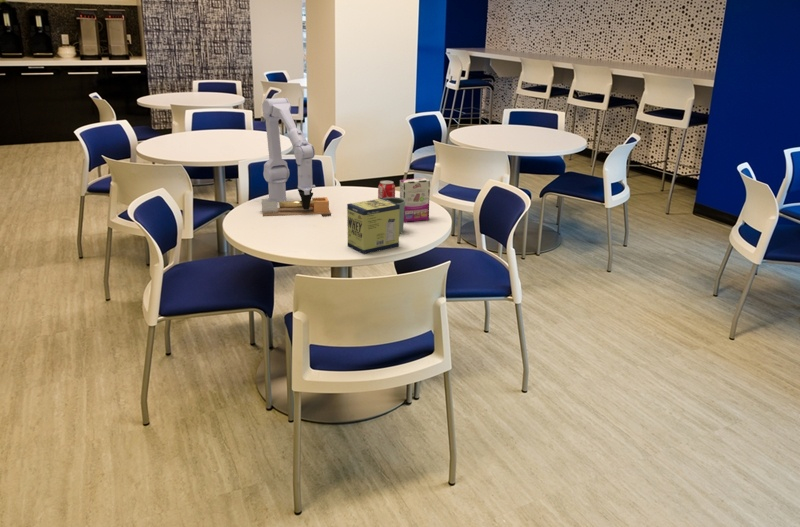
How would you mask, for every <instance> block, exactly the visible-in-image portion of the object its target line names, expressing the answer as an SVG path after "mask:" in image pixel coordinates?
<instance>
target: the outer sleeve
mask: <svg viewBox="0 0 800 527" xmlns="http://www.w3.org/2000/svg"><path fill="white" fill-rule="evenodd" d="M278 208H279V207H278V202H277V199H268V198H262V199H261V211H262V213H261V214H262V215H263V214H272V213H278Z"/></svg>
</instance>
